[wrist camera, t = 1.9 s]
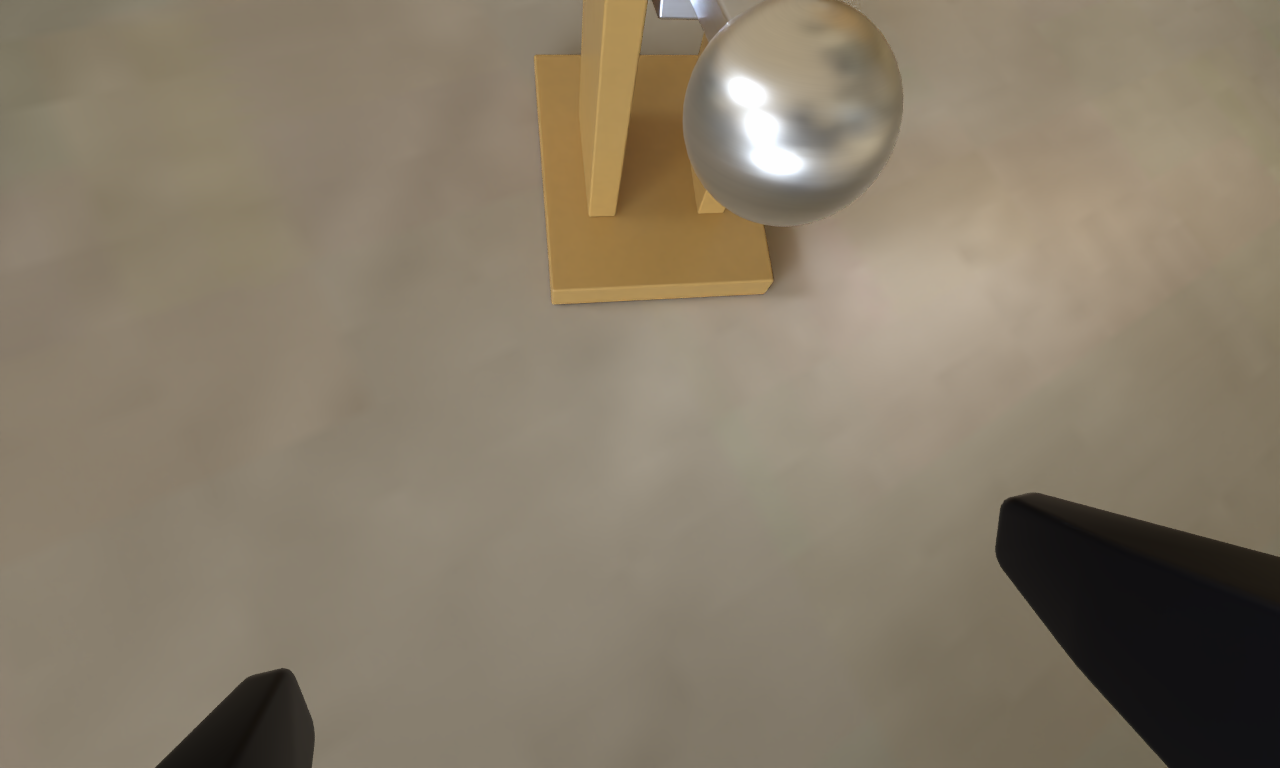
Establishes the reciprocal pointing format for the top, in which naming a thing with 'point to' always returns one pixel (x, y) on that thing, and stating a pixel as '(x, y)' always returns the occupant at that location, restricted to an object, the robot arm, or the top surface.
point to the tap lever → (788, 105)
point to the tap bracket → (632, 175)
